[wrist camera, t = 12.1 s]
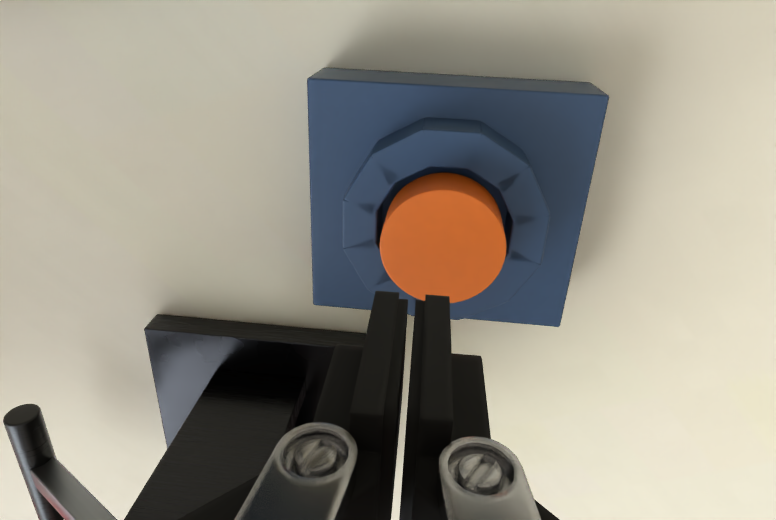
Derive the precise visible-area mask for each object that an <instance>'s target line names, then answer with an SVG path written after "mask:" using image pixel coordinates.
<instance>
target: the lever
mask: <svg viewBox="0 0 776 520" xmlns="http://www.w3.org/2000/svg"><path fill="white" fill-rule="evenodd" d="M3 423H4V425H5V428H6V431H7V433H8V436H9V439H10V442H11V444H12V447H13V450H14V453H15V455H16V458H17V461H18V463H19V466H20V469H21V472H22V474H23V477H24V480H25V483H26V485H27V488H28V491H29V493H30V496H31V499H32V502H33V504H34V507H35V510H36V513H37V515H38V518H39V520H63V519H65V520H117V519H116V518H115V517H114V516H113V515H112V514H111V513H110V512H109V511H108V510H107V509H106V508H105V507H104V506H103V505H102V504H101V503H100V502H99V501H98V500H97V499H96V498H95V497H94V496H93V495H92V494H91V493H90V492H89V491H88V490H87V489H86V488H85V487H84V486H83V485H82V484H81V483H80V482H79V481H78V480H77V479H76V478H75V477H74V476H73V475H72V474H71V473H70V472H69V471H68V470H67V469H66V468H65V467H64V466H63V465H62V464H61V463H60V462H59V461H58V460H57V459H56V456H55V453H54V449H53V446H52V443H51V440H50V437H49V434H48V431H47V428H46V425H45V422H44V418H43V415H42V412H41V409H40V407H39V406H37V405H35V404H24V405H20V406H18V407H15V408H13V409H12V410H10V411H9V412H8V413H7V414H6V415H5V416H4V419H3Z"/></svg>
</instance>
